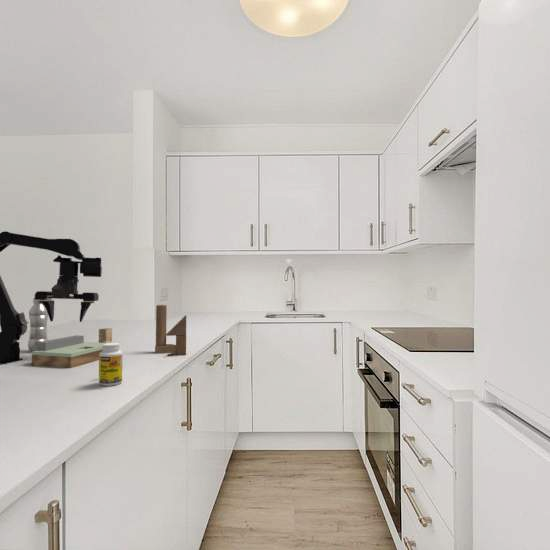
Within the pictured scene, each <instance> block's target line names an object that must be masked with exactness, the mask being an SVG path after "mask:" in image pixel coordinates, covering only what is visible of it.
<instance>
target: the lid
mask: <svg viewBox="0 0 550 550" xmlns="http://www.w3.org/2000/svg"><path fill="white" fill-rule="evenodd" d="M103 344H106V343H99V342H93V341H92V342H89V341H84V335H79V334H78V335H70V336H64V337H59V338H54V339H48V340H47V341H42V342H38V350H37V351H31V356H32V355H42V356H59V357H74V356H78V355H82V354H86V353H90V352H95V351H99V350H103Z"/></svg>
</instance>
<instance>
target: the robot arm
mask: <svg viewBox="0 0 550 550" xmlns="http://www.w3.org/2000/svg"><path fill="white" fill-rule="evenodd" d="M11 245H12V246H18V247H27V248H33V249H39V250H45V251H51V252H53V253H57V254H58V255H57V257H55V258H54V259H53V260H52V261H53V262H54V263H59V268H58V269H59V271H58V278H57V282H56V284H55V285H53V286H52V287H51V291H46V290H39V291H38V290H37V291H35V293H34V297H33V298H34V300H40V301H39V302H41V303H42V304H43V305H44V306H45V308H46V310H47V313H48V318H49V321H50V322H54V316H55V300H54V299H59V300H60V299H62V300H65V299H67V300H82V301H80V312H79V322H80V323H82V322H83V320H84V318H85V316H86V313H87V311H88V309H89V308H90V307H91V304H94V303H95V302H98V301H99V297H100V295H99V294H98V292H87V291H86V292H82V293H79V290H78V283H79V279H78V278H79V274H82V275H83V277H87V278H88V277H90V278H91V277H93V278H102V271H103V267H102V258H101V257H85V255H84V254H83V253H82V252H81V247H80V244H79V243H78V242H77V241H75V240H74V239H71V238H44V237H39V236H33V235H25V234H20V233H14V232H9V231H1V232H0V253H1V252H3V251H4V250H5V249H6V248H8V247H9V246H11ZM59 254H60V255H59ZM61 255H63V256H67V257H62V256H61ZM72 257H73V258H74V259H76V261H75V260H73V258H72ZM77 260H79V261H77ZM52 299H53V300H52ZM28 325H29V322H28V321H27V319H26V316H25V313H24V311H23V312H22V311H21V312H20V313H19V312H18V311H17V310H16V309H15V307H14V304H13V302H12V300H11V297H10V295H9V293H8V291H7V288H6V285H5V283H4V281H3V279H2V276H1V275H0V330H1V331H0V364H7V365H8V364H11V363H14V362H20V361H23V360H24V358H22V357H21V356H20V355H21V352H20V351H21V347H20V342H19V341H20V339H21V338H22V337H21V336H24V334H26V333H27V332H28V331H27V330H28Z"/></svg>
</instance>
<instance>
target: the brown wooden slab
mask: <svg viewBox="0 0 550 550" xmlns="http://www.w3.org/2000/svg"><path fill="white" fill-rule="evenodd" d="M102 351H103V350H99V351H95V352H90V353H86V354H82V355H78V356H74V357H59V356H42V355H32V354H31V366H37V367H38V366H39V367H50V368H51V367H52V368H65V369H73V368H77V367H80V366H83V365H86V364H90V363H93V362H97V361H98V362H99V354H100V352H102Z"/></svg>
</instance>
